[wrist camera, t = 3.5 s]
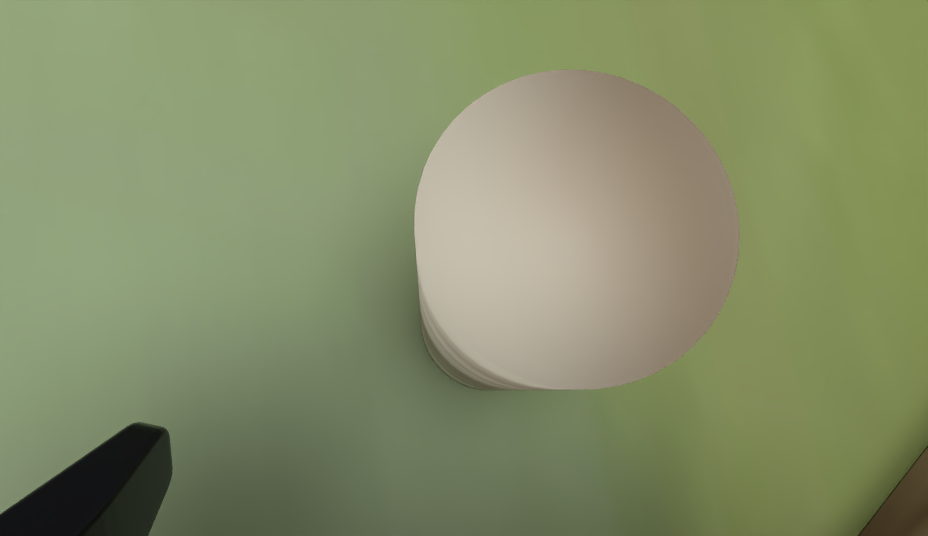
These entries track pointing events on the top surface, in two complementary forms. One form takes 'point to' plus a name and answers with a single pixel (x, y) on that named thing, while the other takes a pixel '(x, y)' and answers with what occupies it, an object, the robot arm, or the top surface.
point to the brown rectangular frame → (904, 506)
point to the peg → (570, 235)
